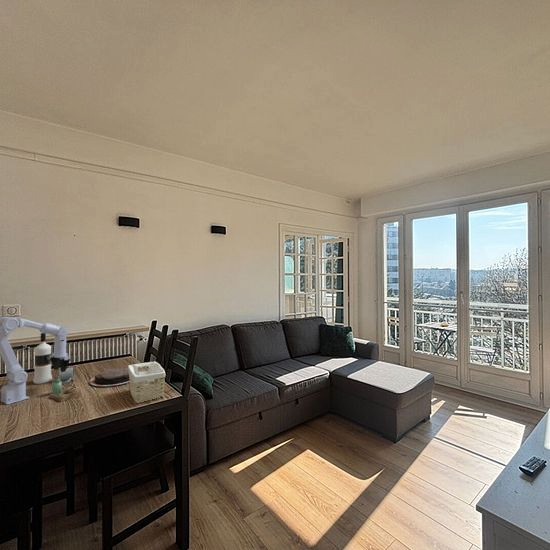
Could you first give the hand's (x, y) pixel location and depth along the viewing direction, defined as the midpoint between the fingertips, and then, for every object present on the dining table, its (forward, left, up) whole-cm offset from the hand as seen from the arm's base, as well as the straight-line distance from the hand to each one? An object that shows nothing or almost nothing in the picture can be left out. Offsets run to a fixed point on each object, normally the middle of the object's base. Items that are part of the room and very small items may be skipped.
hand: (59, 370), depth 177 cm
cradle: (-5, -15, -10) cm, 19 cm away
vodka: (0, +20, -10) cm, 23 cm away
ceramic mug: (+8, +9, -10) cm, 16 cm away
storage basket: (+19, -51, -10) cm, 55 cm away
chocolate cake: (+25, -14, -11) cm, 31 cm away
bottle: (-5, -7, -10) cm, 13 cm away
